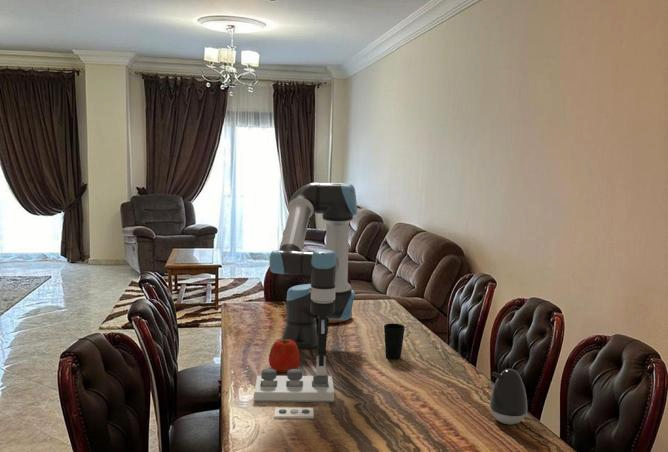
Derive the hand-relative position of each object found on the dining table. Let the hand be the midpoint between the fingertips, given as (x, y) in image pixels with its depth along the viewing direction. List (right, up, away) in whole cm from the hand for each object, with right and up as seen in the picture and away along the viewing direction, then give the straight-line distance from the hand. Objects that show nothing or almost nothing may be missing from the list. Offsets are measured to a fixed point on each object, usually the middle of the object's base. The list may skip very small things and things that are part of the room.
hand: (320, 374), depth 186 cm
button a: (0, -5, +1) cm, 5 cm away
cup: (+26, -3, +38) cm, 46 cm away
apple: (-13, -4, +22) cm, 26 cm away
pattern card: (-7, -7, -15) cm, 18 cm away
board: (-8, -6, 0) cm, 10 cm away
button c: (-16, -3, -1) cm, 17 cm away
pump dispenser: (+54, -9, -16) cm, 57 cm away
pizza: (+1, +3, +92) cm, 92 cm away
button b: (-8, -4, 0) cm, 9 cm away
